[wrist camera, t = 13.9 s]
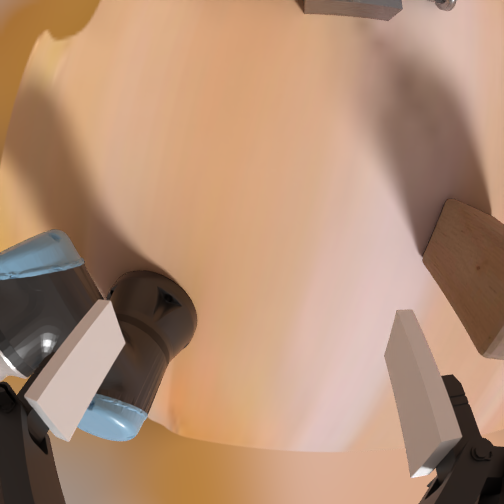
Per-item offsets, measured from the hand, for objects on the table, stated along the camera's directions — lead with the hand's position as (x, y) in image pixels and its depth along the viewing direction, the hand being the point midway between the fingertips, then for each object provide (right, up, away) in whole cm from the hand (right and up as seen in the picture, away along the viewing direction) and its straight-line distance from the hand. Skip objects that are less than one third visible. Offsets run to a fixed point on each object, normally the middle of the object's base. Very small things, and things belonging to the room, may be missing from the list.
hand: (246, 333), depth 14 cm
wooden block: (+29, +6, +24) cm, 38 cm away
